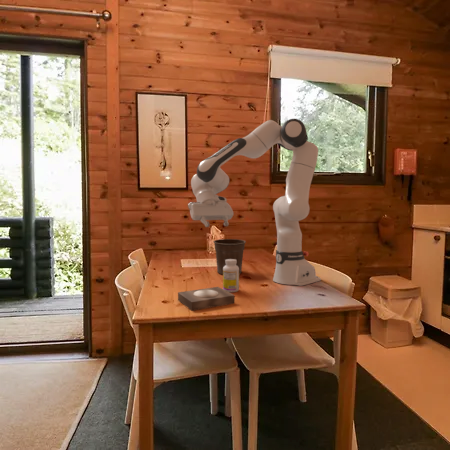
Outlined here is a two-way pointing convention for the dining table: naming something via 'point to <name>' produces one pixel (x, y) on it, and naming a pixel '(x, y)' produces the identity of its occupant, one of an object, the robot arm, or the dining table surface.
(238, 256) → the plant pot
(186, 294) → the walnut board
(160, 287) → the dining table surface
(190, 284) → the dining table surface
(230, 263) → the supplement bottle
